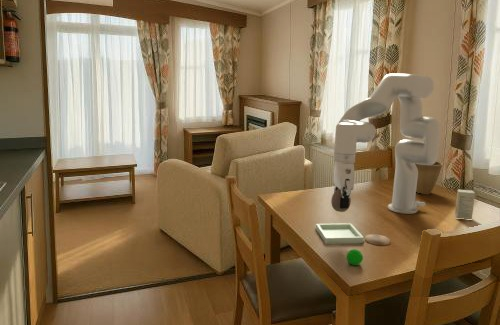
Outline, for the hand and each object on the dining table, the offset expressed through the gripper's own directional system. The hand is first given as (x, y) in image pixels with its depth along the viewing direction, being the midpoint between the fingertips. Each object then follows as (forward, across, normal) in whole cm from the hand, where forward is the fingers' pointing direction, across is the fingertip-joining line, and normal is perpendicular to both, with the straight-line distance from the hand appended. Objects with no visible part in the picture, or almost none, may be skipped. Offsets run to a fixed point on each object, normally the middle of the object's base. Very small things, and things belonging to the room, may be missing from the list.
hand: (340, 204), depth 152 cm
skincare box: (+12, +16, -59) cm, 62 cm away
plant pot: (+12, +54, -61) cm, 83 cm away
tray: (+12, 0, 0) cm, 12 cm away
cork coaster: (+12, -5, -13) cm, 19 cm away
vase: (+2, 0, 0) cm, 2 cm away
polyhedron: (+13, -23, +2) cm, 26 cm away
